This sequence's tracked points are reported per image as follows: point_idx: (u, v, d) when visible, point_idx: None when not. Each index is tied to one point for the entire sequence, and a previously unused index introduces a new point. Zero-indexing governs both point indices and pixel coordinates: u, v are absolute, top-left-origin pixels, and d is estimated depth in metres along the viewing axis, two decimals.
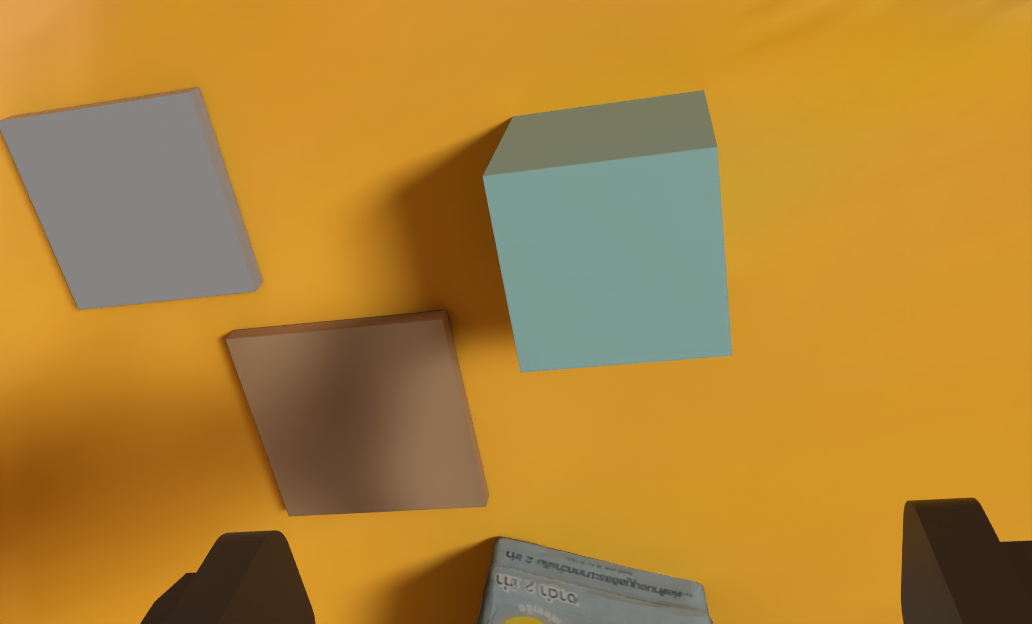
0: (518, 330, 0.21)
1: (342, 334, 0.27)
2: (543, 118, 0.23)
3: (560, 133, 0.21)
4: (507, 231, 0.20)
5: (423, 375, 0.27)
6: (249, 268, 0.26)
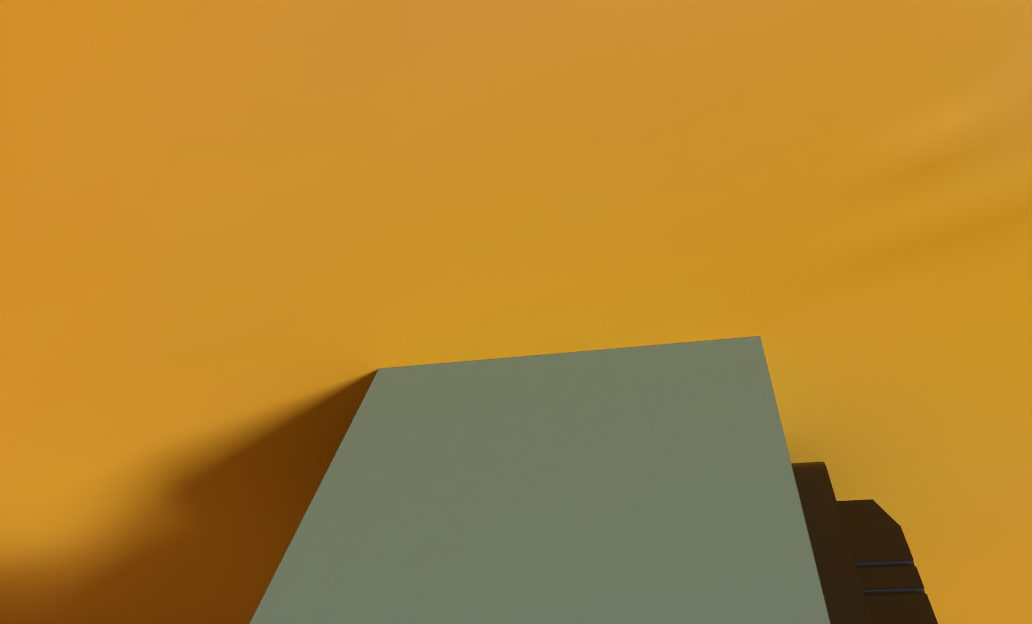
0: None
1: None
2: (431, 392, 0.11)
3: (453, 472, 0.09)
4: None
5: None
6: None
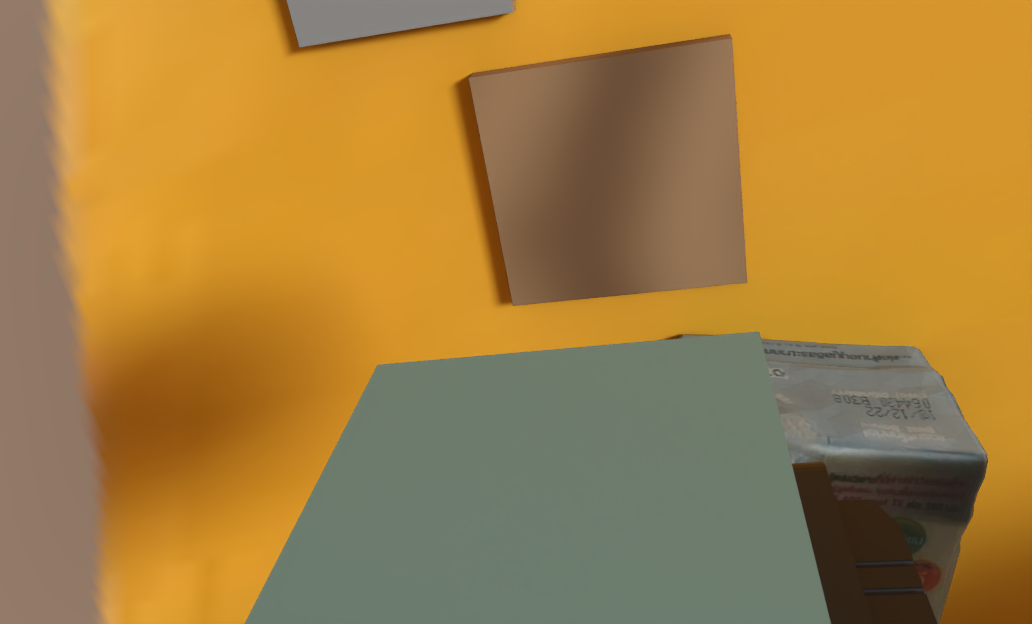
0: None
1: (609, 64, 0.23)
2: (430, 388, 0.11)
3: (452, 466, 0.09)
4: None
5: (698, 113, 0.24)
6: None
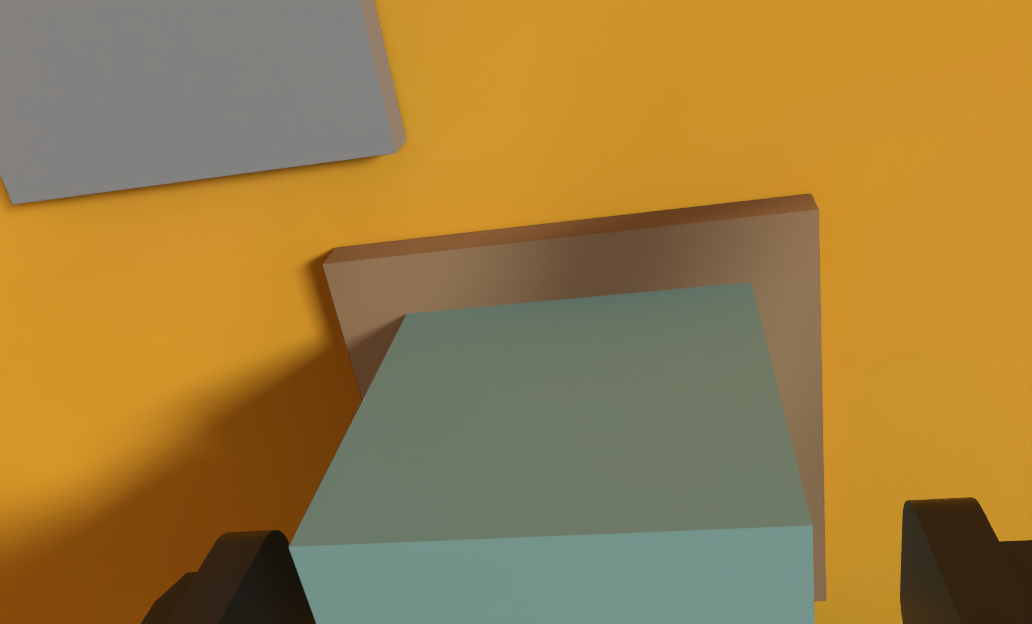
0: None
1: (581, 248, 0.12)
2: (455, 331, 0.12)
3: (478, 392, 0.11)
4: None
5: None
6: (385, 99, 0.12)
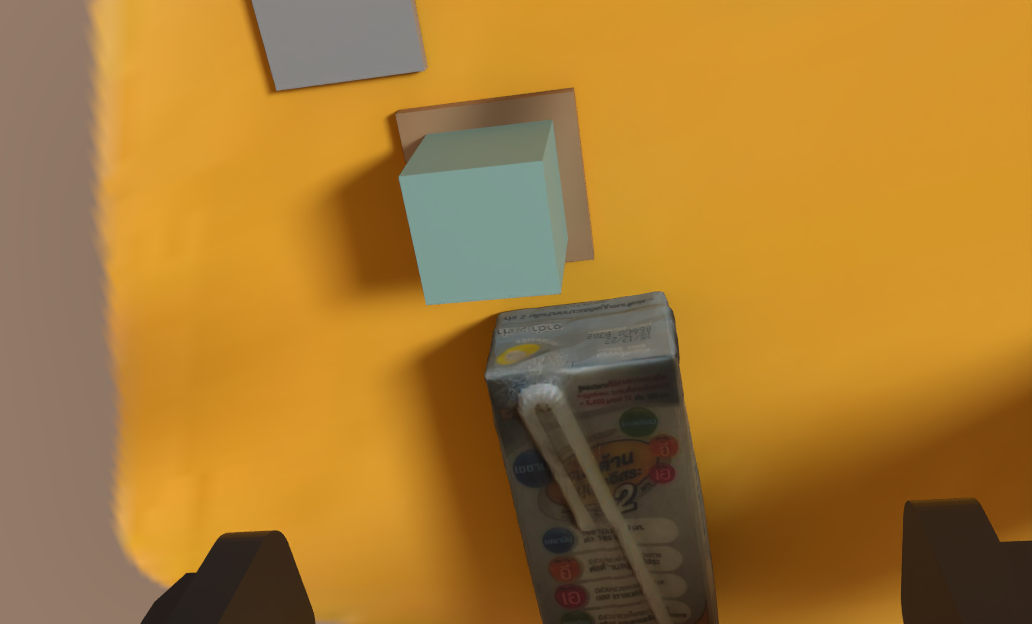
0: (424, 276, 0.32)
1: (491, 106, 0.34)
2: (445, 137, 0.34)
3: (453, 148, 0.32)
4: (415, 211, 0.31)
5: None
6: (421, 50, 0.33)
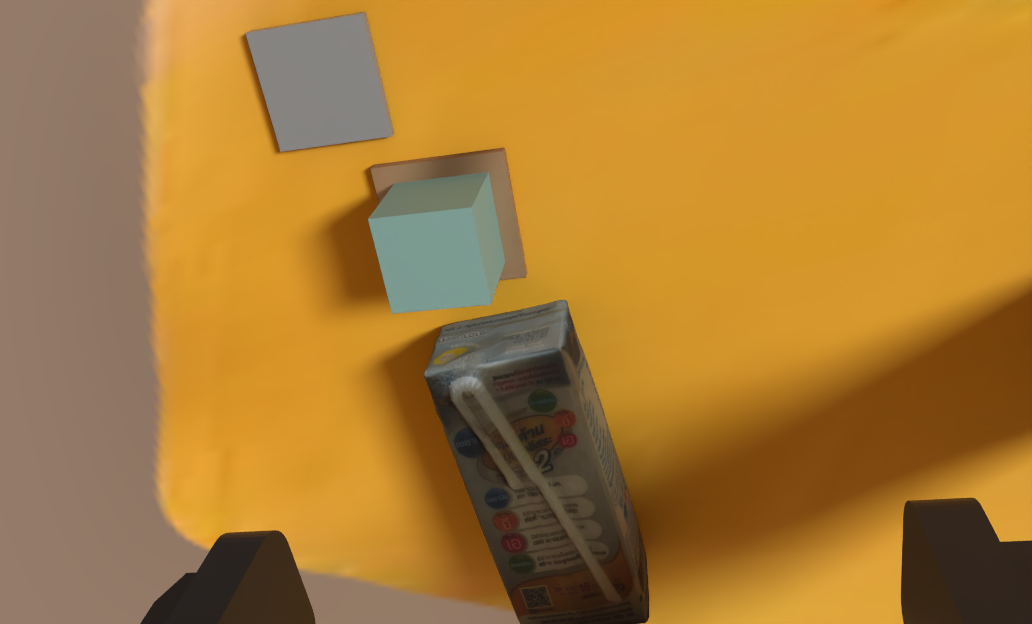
0: (389, 292, 0.43)
1: (442, 162, 0.44)
2: (407, 186, 0.45)
3: (411, 196, 0.43)
4: (380, 244, 0.41)
5: None
6: (388, 121, 0.44)
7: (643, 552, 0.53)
